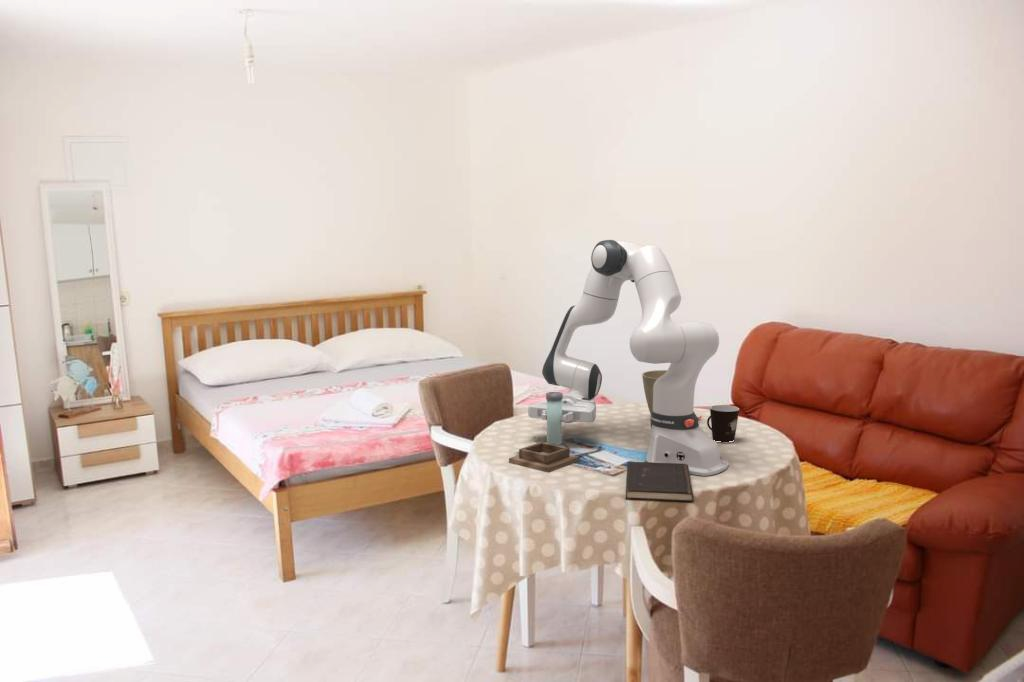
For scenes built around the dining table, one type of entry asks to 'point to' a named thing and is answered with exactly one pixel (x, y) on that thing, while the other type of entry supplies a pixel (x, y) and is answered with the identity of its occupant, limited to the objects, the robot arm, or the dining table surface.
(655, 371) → the plant pot
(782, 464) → the dining table surface
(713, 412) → the coffee mug
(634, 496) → the hardcover book
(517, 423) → the dining table surface
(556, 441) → the capped tube
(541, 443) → the walnut rack
